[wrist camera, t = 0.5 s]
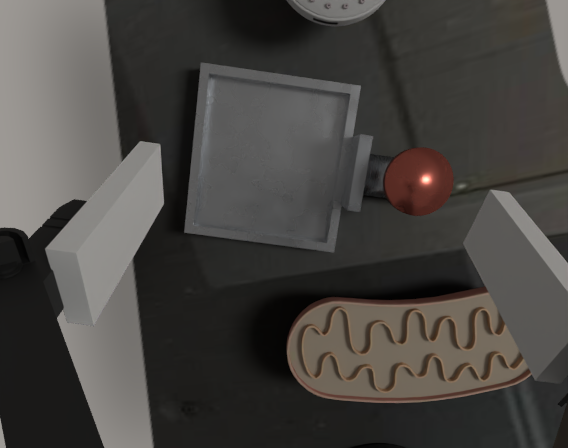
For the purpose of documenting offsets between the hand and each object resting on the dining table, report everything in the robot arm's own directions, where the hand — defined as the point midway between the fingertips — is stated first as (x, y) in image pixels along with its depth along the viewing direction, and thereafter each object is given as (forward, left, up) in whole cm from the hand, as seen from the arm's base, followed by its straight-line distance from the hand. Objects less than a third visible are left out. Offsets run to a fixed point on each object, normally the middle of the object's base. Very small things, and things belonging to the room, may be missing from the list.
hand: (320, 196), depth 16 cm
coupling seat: (+1, -1, -20) cm, 20 cm away
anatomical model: (-13, -12, -21) cm, 27 cm away
